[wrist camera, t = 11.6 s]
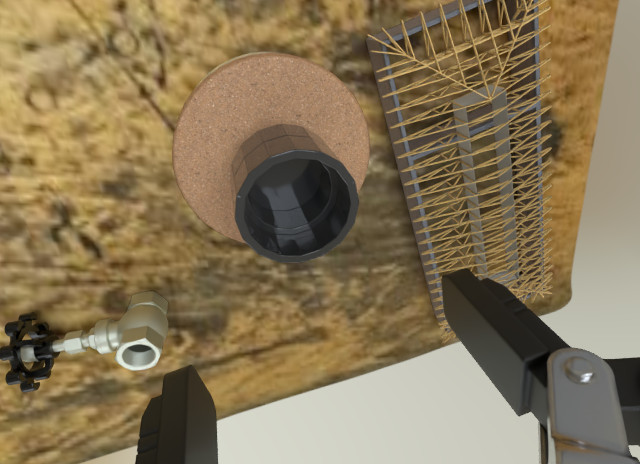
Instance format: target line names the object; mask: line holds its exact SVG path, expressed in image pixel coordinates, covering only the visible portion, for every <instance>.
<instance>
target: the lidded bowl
mask: <svg viewBox="0 0 640 464" xmlns="http://www.w3.org/2000/svg"><path fill="white" fill-rule="evenodd" d="M277 124H288V125H297V126H301V127H302V126H303V127H304V128H306V129H308V130H310V131H311V132H313V133H315V134H317V135H319V136H320V137H321V138H322V140H323V141H324V142H325V143H326V144H327V146H328V147H329V148H330V149H331V150H332V151H333V153H334V154H335V155H336V156H337V157H338V159H339V160H340V161H341V162H342V163H343V165H344V166H345V167H346V169H347V170H348V171H349V173H350V174H351V176H352V177H353V178H354V180H355V182H356V187H357V193H359V190H360V188H361V186H362V184H363V182H364V179H365V175H366V172H367V169H368V163H369V156H370V139H369V133H368V127H367V123H366V120H365V117H364V114H363V111H362V109H361V107H360V106H359V104H358V102H357V100H356V98H355V97H354V95H353V94H352V93H351V91H350V90H349V89H348V88H347V86H346V85H345V84H344V83H343V82H342V81H341V80H339V79H338V78H337V77H336V76H335V75H334V74H332V73H331V72H329V71H328V70H326V69H325V68H323V67H322V66H320V65H318V64H316V63H314V62H311V61H309V60H307V59H304V58H302V57H298V56H293V55H289V54H283V53H278V52H256V53H248V54H245V55H241V56H238V57H234V58H232V59H230V60H228V61H226V62H224V63H222V64H220V65H219V66H217V67H216V68H215V69H213V70H212V71H211V72H209V73H208V74H207V75H206V76H205V77H204V78H203V79H202V80H201V81H200V82H199V83H198V84H197V86H196V87H195V89H194V90H193V92H192V93H191V95H190V96H189V98H188V99H187V101H186V102H185V104H184V106H183V108H182V111H181V113H180V115H179V117H178V120H177V124H176V128H175V132H174V136H173V147H172V158H173V168H174V173H175V176H176V180H177V183H178V186H179V188H180V190H181V192H182V194H183V197H184V199H185V200H186V201H187V203H188V204H189V206H190V207H191V209H192V210H193V211H194V212H195V213H196V214H197V215H198V217H199V218H200V219H201V220H202V221H203V222H205V223H206V224H207V225H209V226H210V227H211V228H213V229H214V230H215V231H217V232H219V233H221V234H223V235H225V236H226V237H229V238H231V239H234V240H237V241H240V242H244V243H246V242H245V241H244V240H243V239H242V237H241V234H240V232H239V229H238V227H237V224H236V221H235V217H234V210H233V202H232V194H231V186H230V175H231V164H232V161H233V159H234V157H235V155H236V153H237V151H238V150H239V148H240V146H241V145H242V143H243V142H244V141H246V140H247V139H248V138H249V137H251V136H252V135H253V134H254V133H255V132H257V131H258V130H261V129H264V128H267V127H271V126H274V125H277Z"/></svg>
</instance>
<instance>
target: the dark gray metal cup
mask: <svg viewBox="0 0 640 464" xmlns="http://www.w3.org/2000/svg"><path fill="white" fill-rule="evenodd" d="M230 186H231V194H232V202H233V210H234V217H235V221H236V224H237V227H238V229H239V232H240V234H241V237H242V239H243V240H244V241H245V242H246V243H247V244H248V245H249V246H250V247H251V248H252V249H253V250H254V251H255V252H256V253H257V254H259V255H261V256H263V257H266V258H269V259H271V260H274V261H277V262H280V263H302V262H306V261H309V260H312V259H315V258H318V257H321V256H323V255H325V254H326V253H328V252H329V251H330V250H332V249H333V248H334V247H336V246H337V245H338V244H340V243H341V242H342V241H343V240H344V238H345V237H346V235H347V234H348V232H349V231H350V229H351V228H352V226H353V225H354V223H355V218H356V214H357V210H358V205H359V198H358V193H357V187H356V182H355V180H354V178H353V177H352V176H351V174H350V173H349V171H348V170H347V169H346V167H345V166H344V165H343V163H342V162H341V161H340V160H339V159H338V157H337V156H336V155H335V154H334V153H333V151H332V150H331V149H330V148H329V147H328V146H327V144H326V143H325V142H324V141H323V140H322V138H321V137H320V136H319V135H317V134H315V133H313V132H311V131H310V130H308V129H306V128H304V127H303V126H302V127H301V126H297V125H288V124H277V125H274V126H271V127H267V128H264V129H261V130H258V131H257V132H255V133H254V134H253V135H252V136H251V137H249V138H248V139H247V140H246V141H244V142H243V143H242V145H241V146H240V148H239V150H238V151H237V153H236V155H235V157H234V159H233V161H232V164H231V175H230Z"/></svg>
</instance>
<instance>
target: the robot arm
mask: <svg viewBox="0 0 640 464" xmlns="http://www.w3.org/2000/svg"><path fill="white" fill-rule="evenodd" d="M441 282H442V296H443V310H444V315H445V318H446V320H447V322H448V324H449V326H450V328H451V329H452V330H453V332H454V333H455V334H456V336H457V337H458V338H459V340H460V341H461V342H462V343H463V345H464V346H465V347H466V349H467V350H468V351H469V353H470V354H471V355H472V356H473V358H474V359H475V360H476V362H477V363H478V364H479V365H480V367H481V368H482V369H483V371H484V372H485V373H486V375H487V376H488V377H489V378H490V380H491V381H492V383H493V384H494V385H495V386H496V388H497V389H498V390H499V392H500V393H501V394H502V396H503V397H504V398H505V399H506V401H507V402H508V403H509V405H510V406H511V407H512V409H513V410H514V411H515V412H516V414H517V415H518V416H521V415H523V414H526V413H529V412H532V413H533V414H534V416H535V417H536V418H537V419H538V421H539V423H538V434H539V464H640V462H639V460H638V459H637V458H636V457H632V455H631V453H630V451H629V447H628V445H639V446H640V357H638V358H623V359H602V358H600V357H599V356H597V355H595V354H594V353H591V352H589V351H586V350H583V349H578V348H572V347H570V346H569V345H568V344H566V343H565V342H564V341H563V340H562V339H561V338H560V337H559V336H558V335H557V334H556V333H555V332H554V331H552V330H551V329H550V328H549V327H548V326H547V325H546V324H545V323H544V322H543V321H542V320H541V319H540V318H539V317H537V316H536V315H535V314H534V313H533V312H532V311H531V310H530V309H527V307H526V305H525V304H524V303H522V302H521V301H520V300H519V299H517V298H516V296H515V295H514V294H513V293H512V292H511V291H510V290H508V289H507V288H506V287H505V286H504V285H502V284H500V283H498V282H496V281H494V280H491V279H489V278H485V279H482V280H479V279H478V278H477V277H476V276H475V275H474V274H473V273H472V272H471V271H470V270H469V269H467V268H463V269H460V270H457V271H454V272H452V273H449V274H446V275H443V276H442V279H441ZM139 436H140V439H139V441H138V448H137V452H138V455H136V462H135V464H218V448H217V421H216V410H215V405H214V402H213V399H212V396H211V394H210V393H209V391H208V389H207V388H206V386H205V384H204V383H203V381H202V380H201V378H200V376H199V375H198V373H197V371H196V370H195V368H194V367H193V366H192V365H189V366H186V367H184V368H181V369H178V370H175V371H173V372H170V373H167V374H165V376H164V379H163V389H162V395H160V396H157V397H155V398H152V399H151V400H150V402H149V404H148V406H147V408H146V410H145V412H144V414H143V416H142V420H141V427H140V434H139Z"/></svg>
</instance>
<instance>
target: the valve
mask: <svg viewBox="0 0 640 464" xmlns="http://www.w3.org/2000/svg"><path fill="white" fill-rule="evenodd" d="M167 309H168V302H167V301H166V300H165V299H164V298H163V297H162V296H161V295H159V294H158V293H156V292H154V291H148V292H142V293H138V294H134V295H132V298H131V301H130V304H129V306H128V309H127V312H126V313H125V314H124V315H123V317H122V318H121V320H118V321H114V320H113V319H111V318H109V319H104V320H99V321H97V323H96V325H95V328H91V330H90V332H89V333H87V332H85V331H84V330H79V331H74V332H69V333H67V334H66V336H65V338H64V339H60V340H59V338H58V337H57V336H56V335H55V333H54V332H53V331H51V330H49V326H48V324H47V323H46V322H45V323H39V324H34V325H32V320H37V315H36V314H35V313H34V312H32V313H26V314H21V315H20V316H19V320H18V321H14V322H9V323H7V324H6V325H5V333H6V335H8V336H10V344H9V345H8V346H3V347H1V348H0V359H1V360H2V361H6V360H9V361H10V365H11V370H10V371H9V372H8V373H7V374H6V382H7V384H8V385H14V384H19V383H21V384H20V388H21V391H22V392H23V393H26V392H30V391H35V390H38V388H39V386H40V382H37V383H34V379H35V380H36V381H38V380H42V379H47V378H49V377H50V375H51V369H52V367H53V365H54V358H57V357H58V356H59V354H60V351H64V350H65V351H66V352H67V353H69V354H74V353H79V352H84V351H87V348H88V346H91V347H92V348H93V349H97V350H98V352H99V353H100V354H106V353H111V352H114V351H116V349H117V352H116V356H115V361H116V362H118V363H119V364H120V365H122V366H123V367H125V368H127V369H129V370H132V371H135V370H143V369H147V368H150V367H153V366H156V364H157V362H158V360H159V357H160V355H161V352H162V348H163V342H164V340H165V338H166V336H167V333H168V320H167V317H166V314H167ZM26 333H27V334H28V335H30V337H31V338H32V339H31V340H22V339H23V337H24V335H25V334H26ZM117 347H118V348H117ZM21 357H22V359H21ZM22 360H23V361H25V362H32V361H34V364H33V366H32V368H31V369H30V371H29V370H28V369H26V367H25V366H24V364H23V362H22ZM44 362H45V367H43V366H44Z"/></svg>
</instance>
